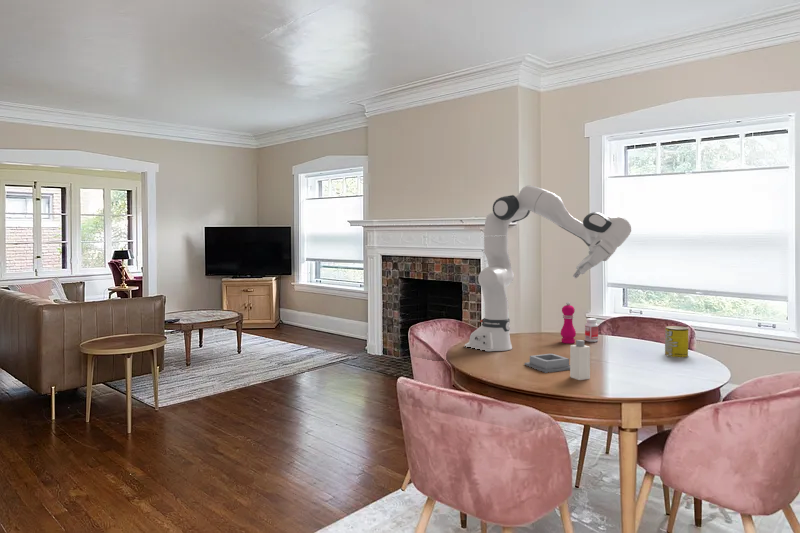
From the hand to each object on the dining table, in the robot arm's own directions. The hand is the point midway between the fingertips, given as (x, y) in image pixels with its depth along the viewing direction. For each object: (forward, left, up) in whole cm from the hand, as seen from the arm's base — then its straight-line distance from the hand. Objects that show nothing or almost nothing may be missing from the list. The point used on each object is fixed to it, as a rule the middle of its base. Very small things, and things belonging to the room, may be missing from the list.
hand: (577, 275), depth 223 cm
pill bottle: (-14, +56, -37) cm, 69 cm away
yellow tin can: (+27, +45, -37) cm, 64 cm away
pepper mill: (-22, +46, -37) cm, 63 cm away
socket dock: (-9, -7, -37) cm, 39 cm away
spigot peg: (+7, -16, -37) cm, 41 cm away
